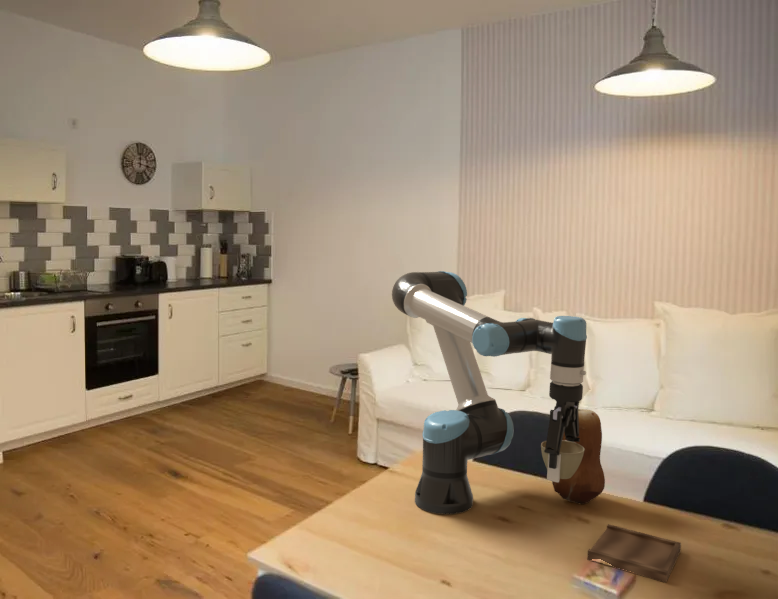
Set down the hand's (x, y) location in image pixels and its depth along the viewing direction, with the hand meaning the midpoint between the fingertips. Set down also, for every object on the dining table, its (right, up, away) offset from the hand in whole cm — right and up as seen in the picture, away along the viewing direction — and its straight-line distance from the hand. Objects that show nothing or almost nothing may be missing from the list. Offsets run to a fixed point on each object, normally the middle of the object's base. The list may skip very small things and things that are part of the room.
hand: (560, 473), depth 154 cm
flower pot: (0, -1, 0) cm, 1 cm away
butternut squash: (+9, -12, +18) cm, 23 cm away
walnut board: (+13, -15, -11) cm, 23 cm away
